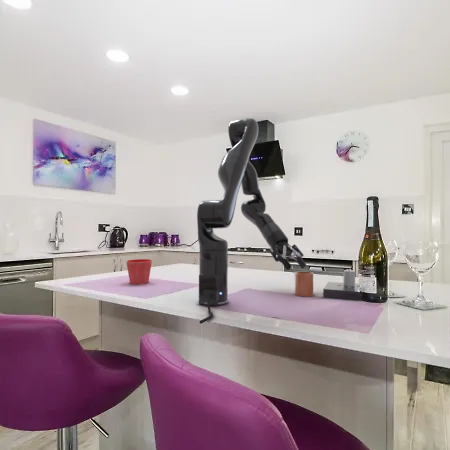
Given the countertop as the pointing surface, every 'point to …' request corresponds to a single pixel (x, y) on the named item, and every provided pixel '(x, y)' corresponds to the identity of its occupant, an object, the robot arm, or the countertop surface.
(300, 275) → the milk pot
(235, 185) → the robot arm
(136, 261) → the flower pot
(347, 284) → the stove knob
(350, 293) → the stove
